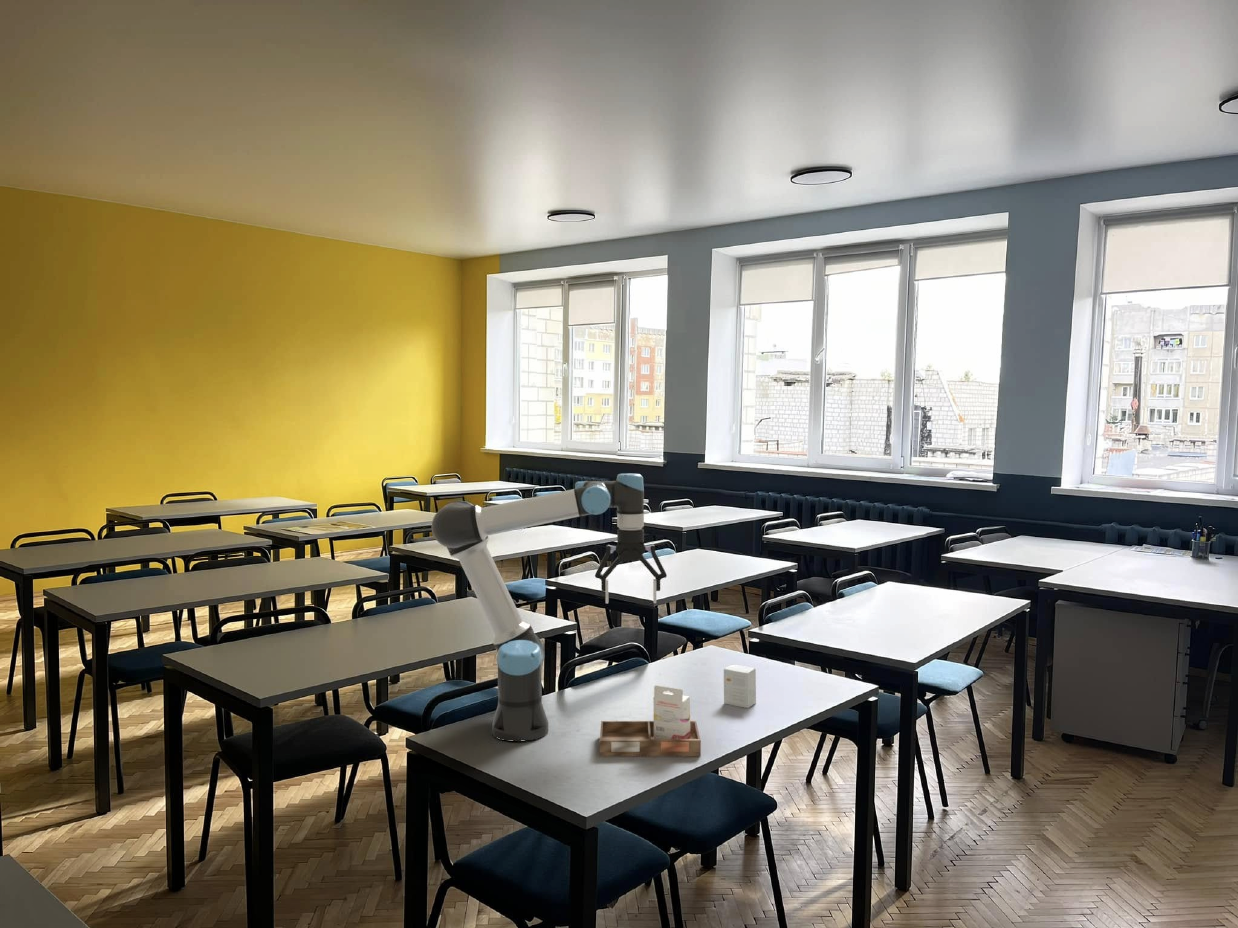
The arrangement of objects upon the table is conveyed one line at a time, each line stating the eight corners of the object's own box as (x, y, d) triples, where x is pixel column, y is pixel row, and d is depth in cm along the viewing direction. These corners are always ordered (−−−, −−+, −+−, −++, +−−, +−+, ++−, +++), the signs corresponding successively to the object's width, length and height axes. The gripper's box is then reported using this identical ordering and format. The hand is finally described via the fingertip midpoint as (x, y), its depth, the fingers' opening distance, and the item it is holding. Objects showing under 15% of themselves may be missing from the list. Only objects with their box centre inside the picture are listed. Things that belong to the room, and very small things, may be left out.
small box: (756, 703, 247) (756, 668, 246) (748, 708, 242) (748, 672, 242) (731, 698, 251) (731, 663, 251) (723, 703, 247) (723, 668, 246)
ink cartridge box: (691, 740, 216) (691, 684, 215) (683, 747, 211) (683, 690, 211) (660, 735, 220) (660, 679, 219) (652, 741, 215) (652, 685, 215)
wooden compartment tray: (599, 756, 208) (599, 741, 208) (601, 735, 222) (601, 720, 222) (700, 756, 208) (700, 740, 208) (696, 735, 222) (695, 720, 222)
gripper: (673, 526, 241) (674, 599, 242) (587, 526, 241) (587, 599, 242) (675, 529, 233) (675, 605, 235) (585, 530, 234) (586, 605, 235)
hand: (630, 602), depth 238 cm, fingers open, 13 cm apart
